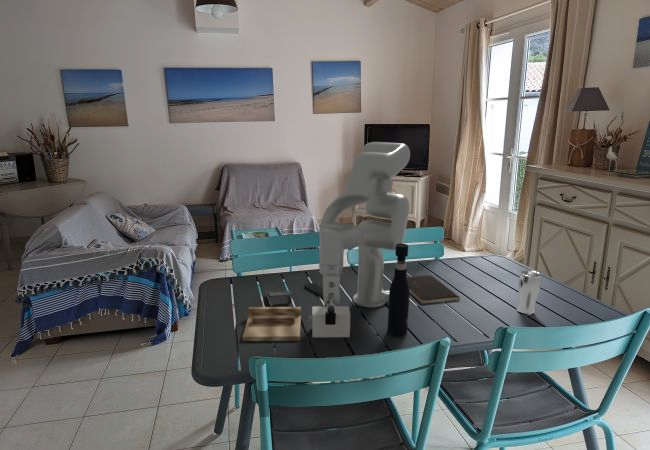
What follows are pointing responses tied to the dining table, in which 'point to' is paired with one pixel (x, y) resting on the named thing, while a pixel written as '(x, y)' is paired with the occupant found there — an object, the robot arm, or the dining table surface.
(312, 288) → the remote control
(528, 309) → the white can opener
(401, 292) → the black bottle
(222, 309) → the dining table surface
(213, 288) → the dining table surface
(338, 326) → the light grey block
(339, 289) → the robot arm
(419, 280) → the hardcover book
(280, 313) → the cleat board
